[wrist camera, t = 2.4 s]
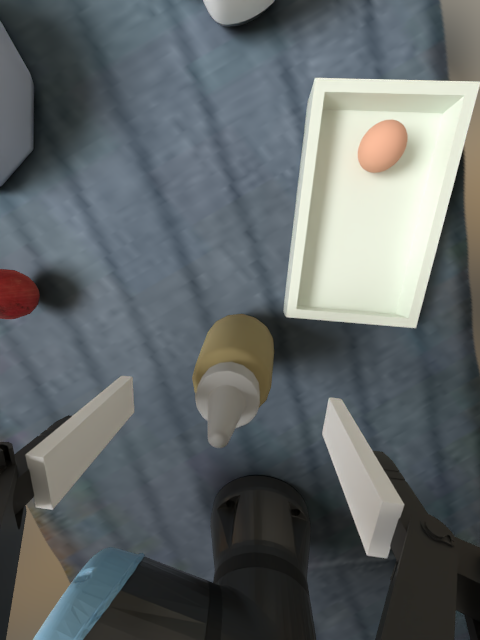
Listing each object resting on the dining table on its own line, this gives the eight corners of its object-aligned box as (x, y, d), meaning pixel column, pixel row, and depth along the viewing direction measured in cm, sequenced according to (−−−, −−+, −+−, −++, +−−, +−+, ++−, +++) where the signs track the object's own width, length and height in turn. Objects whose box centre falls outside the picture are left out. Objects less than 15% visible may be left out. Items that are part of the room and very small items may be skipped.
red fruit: (63, 305, 31) (-2, 318, 23) (29, 317, 32) (-45, 334, 24) (43, 262, 30) (-33, 262, 22) (7, 276, 31) (-78, 280, 23)
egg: (387, 179, 24) (411, 163, 20) (347, 178, 24) (365, 161, 20) (395, 135, 23) (423, 109, 19) (355, 134, 23) (374, 107, 19)
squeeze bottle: (198, 333, 30) (118, 426, 13) (245, 294, 29) (224, 341, 11) (238, 377, 31) (212, 518, 14) (285, 342, 30) (323, 452, 12)
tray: (398, 321, 28) (415, 328, 25) (283, 311, 29) (286, 317, 26) (450, 106, 23) (480, 81, 20) (307, 102, 24) (315, 77, 20)
